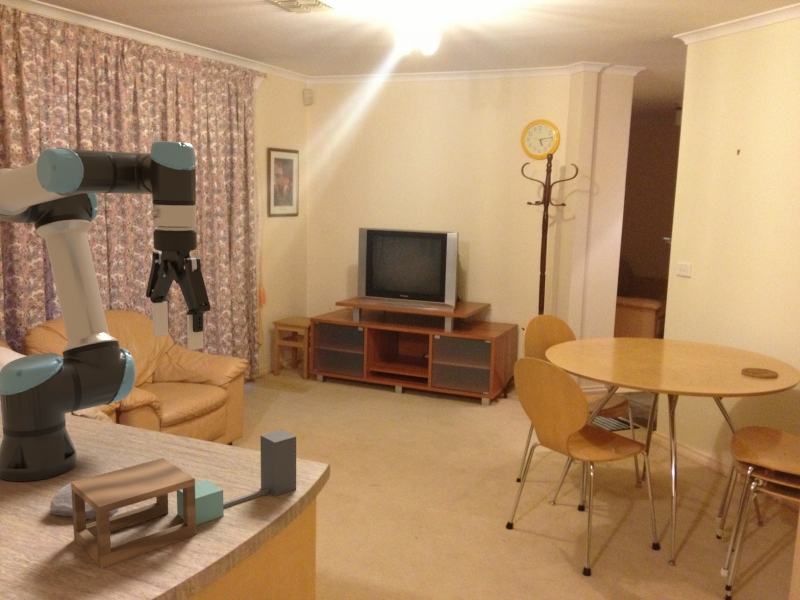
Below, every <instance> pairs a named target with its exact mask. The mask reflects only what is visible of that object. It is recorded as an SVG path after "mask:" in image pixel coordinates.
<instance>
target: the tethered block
mask: <svg viewBox="0 0 800 600" xmlns="http://www.w3.org/2000/svg"><path fill="white" fill-rule="evenodd" d="M260 488H261V490H258V491H255V492H252V493H248V494H246V495H242V496H240V497H237V498H233V499H231V500H227V501H224V489H223V488H221V487H219V486H218V485H216V484H215V483H213V482H211V481H210V480H209V479H204V480H200V481H197V482H195V506H196V526H198V525H201V524H204V523H207V522H210V521H212V520H215V519H217V518H221V517H224V515H225V514H224V509H225V508H228V507H231V506H235V505H237V504H240V503H243V502H247V501H250V500H251V499H254V498H255V499H256V498H257V497H260V496H264V495H267V494H270V495H272V496H273V497H277V496H280V495H283V494H286V493H289V492H291V491H294V490H297V436H296V435H294V434H292V433H289V432H287V431H285V430H283V429H280V430H275V431H272V432H269V433H265V434H260ZM176 509H177V513H176V514H177V515H178V516H179V517H180V518H181V519H183V520H184V517H183V489H181V490H178V491H176Z"/></svg>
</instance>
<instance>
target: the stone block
mask: <svg viewBox="0 0 800 600" xmlns="http://www.w3.org/2000/svg"><path fill="white" fill-rule="evenodd" d="M74 481H75V480H72V481H70V482H69V483H67V484H66V485H65V486H63V487H61V488H59V490H58V491H57V492H56V493H55V494H54V496H53V497H52V499H51V500H50V511H49V512H50V513H51V514H52V515H55V516H63V517H70V516H71V518H73V507H72V490H71V482H74ZM119 510H120V508H118V509H115V510H112V511H109V517H112V516H115V515H116V514H117V512H119ZM85 516H86V520H87V519H88V520H96V511H95V510H94V509H93V508H92V507H91V506H90V505H88V504H87V503H86V502H85Z"/></svg>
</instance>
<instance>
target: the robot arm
mask: <svg viewBox="0 0 800 600" xmlns="http://www.w3.org/2000/svg"><path fill="white" fill-rule="evenodd" d="M39 155H40V156H38V158H37V160H36V161H35V162H32V163H29V164H26V165H24V166H20V167H18V168H13V169H12V168H6V167H5V168H2V167H1V168H0V221H3V222H7V223H14V224H34V229H35V233H36V234H37V235H38V236H39V237H42V238H43V239H44V240H45V244H46V247H47V253H48V258H49V263H50V266H51V267H50V268H51V271H52V275H53V281H54V286H55V289H56V290H55V291H56V294H57V299H58V304H59V307H60V313H61V318H62V321H63V327H64V331H65V335H66V336H65V337H66V341H67V342H66V345H65V347H64V348H63V350H62V351H61V352H62V356H61V355H60V354H59V353H55V352H44V353H35V354H29V355H26V356H22V357H19V358H16V359H14V360H11V361H9V362H7V363H6V364H5V365H4V366H2V368H1V369H0V412H1V422H2V423H1V425H2V439H1V444H0V479H1V480H4V481H9V482H33V481H37V480H38V481H39V480H45V479H48V478H52V477H56V476H59V475H61V474H64V473H67V472H68V471H70V470H72V469H73V468H74V467H75V466H76V465H77V463H78V458H77V450H76V448H75V445H74V444H73V441H72V439H71V437H70V434H69V432H68V430H67V425H66V414H68V413H73V412H77V411H83V410H87V409H91V408H95V407H99V406H104V405H105V406H107V405H111V404H112V403H116V402H120V401H122V400H125V399H126V398H127V397H129V395H130V394H131V392H132V390H133V387H134V385H135V381H136V364H135V360H134V357H133V355H131V351H130V350H128V349H127V348H124V347H120V344H119V343H120V342H119V340H118V339H117V338H116V337H114V336H112V335H111V334H110V331H109V328H108V323H107V319H106V318H107V317H106V314H105V310H104V305H103V301H102V296H101V291H100V288H99V283H98V278H97V274H96V270H95V269H96V268H95V266H94V265H95V264H94V260H93V255H92V251H91V247H90V244H89V239H88V232H89V231H90V230H91V228H92V227H93V223H92V222H93V221H94V220H95V219H96V218H97V215H98V212H99V209H98V205H99V202H98V196H97V194H121V195H122V194H124V195H125V194H129V195H130V194H133V195H138V194H139V195H152V196H151V197H152V198H151V199H152V200H151V201H152V203H151V204H152V210H151V211H150V212H151V213H150V214H151V216H152V220H153V221H152V222H153V226H154V227H156V228H155V229H154V230H153V235H152V236H153V238H152V240H153V249H154V250H156V251H153V252H152V254H151V255H152V260H151V262H152V263H151V266H150V272H149V277H148V282H147V286H146V292H145V296H146V298H147V299H149V298H150V299H149V300H150V302H151V304H152V305H151V306H152V307H151V308H152V335H153V336H152V337H155V338H156V337H157V338H159V337H163V336H169V309H168V302H169V299H168V296H167V295H168V293H169V291H170V288H171V286H172V283H173V282H175V283H176V284H177V285H179V288H180V291H181V293H182V296H183V298H184V301H185V304H186V306H187V309H188V310H187V312H186V324H187V325H186V327H187V328H186V330H187V336H186V337H187V350H188V351H193V350H200V349H204V348H205V347H204V314H205V313H207V312H210V311H211V304H210V300H209V295H208V292H207V288H206V284H205V280H204V277H203V271H202V265H201V258H200V257H191V255H190V254H191V253H190V252H191V251H195V250H196V249H197V247H198V246H197V244H198V243H197V242H198V241H197V239H198V238H197V235H198V234H197V231H196V229H194V228H195V227H197V205H196V201H197V196H196V193H197V189H196V188H197V186H196V185H197V183H196V182H197V179H196V178H197V175H196V174H197V173H196V170H197V169H196V168H197V164H196V158H195V157H196V156H195V148H194V146H193V144H191V143H190V142H189V143H188V142H180V141H165V140H164V141H163V140H161V141H160V140H159V141H158V140H157V141H154V142H153V143H151V145H150V153H147V152H146V153H144V152H143V153H141V152H125V151H124V152H123V151H121V152H120V151H106V150H105V151H104V150H101V151H100V150H84V149H71V148H68V147H59V148H58V147H57V148H46V149H44V150H42V151H41V152H40V154H39Z"/></svg>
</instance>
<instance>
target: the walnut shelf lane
mask: <svg viewBox="0 0 800 600" xmlns="http://www.w3.org/2000/svg"><path fill="white" fill-rule="evenodd" d="M73 481H74V482H72V481H70V482H71V490H72V507H73V517H72V520H73V523H72V524H73V539H74V541H75V542H76V543H77V544H78V545H79V546H80V547H81V548H82V549H83V550H84V551H85V552H86V553H87V554H88V555H89V556H90V557H91V558H92V559H93V561H95V563H96V564H97V565H98V566H99V567H100V568H101V569H104V568H106V567H109V566H111V565H114V564H118V563H121V562H123V561H126V560H128V559H132V558H134V557H137V556H140V555H143V554H146V553H149V552H151V551H154V550H157V549H159V548H162V547H165V546H168V545H170V544H173V543H176V542H179V541H182V540H184V539H187V538H191V537H192V536H196V535H197V525H196V506H195V483H196V478H195V477H193V476H192V475H190V474H188V473H187V472H186V471H184V470H182V469H181V468H179V467H178V466H176V465H174V464H173V463H171V462H170V461H169V460H167V459H165V458H164V457H161V458H157V459H154V460H149V461H147V462H143V463H139V464H135V465H132V466H127V467H123V468H120V469H115V470H113V471H112V470H111V471H108V472H105V473H101V474H98V475H97V474H96V475H94V476H90V477H85V478H83V479H82V478H81V479H78V480H73ZM181 489H183V517H184V519H183V522H182V523H180V524H178V525H175V526H172V527H169V528H165V529H163V530H160V531H158V532H154V533H151V534H148V535H146V536H143V537H139V538H136V539H133V540H130V541H127V542H125V543H121V544H118V545H116V546H112V543H111V532H115V531H119V530H121V529H123V528H127V527H130V526H134V525H136V524H139V523H142V522H143V523H144V522H146V521H148V520H152V519H155V518H158V517H162V516H163V515H168V514H169V494H170V493H173V492H177V491H178V490H181ZM154 498H155V500H156V501H155V502H154V503H150V504H148V505H144V506H141V507H138V508H135V509H134V508H133V509H132V510H128V511H125V512H122V513H119V514H114V515H113V516H110V517H109V511H112V510H115V509H118V508H119V509H121V508H125V507H128V506H131V505H134V504H138V503H141V502H145V501H147V500H151V499H154ZM85 502H86V503H87V504H88V505H90V506H91V507H92V508H93V509H94V510H95V511H96V519H95V521H92V522H90V523H87V521H86V520H87V519H86V516H85Z"/></svg>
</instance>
